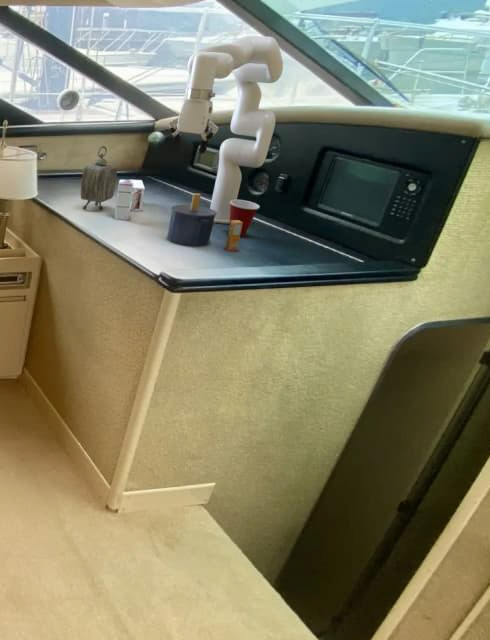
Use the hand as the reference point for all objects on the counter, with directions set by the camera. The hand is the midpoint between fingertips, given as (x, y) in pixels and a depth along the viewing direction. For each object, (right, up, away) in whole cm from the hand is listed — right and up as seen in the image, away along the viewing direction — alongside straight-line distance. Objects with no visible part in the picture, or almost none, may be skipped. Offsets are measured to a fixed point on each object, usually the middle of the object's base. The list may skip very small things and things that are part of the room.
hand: (188, 151), depth 202 cm
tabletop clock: (-23, -5, +52) cm, 57 cm away
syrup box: (-15, -12, +40) cm, 44 cm away
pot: (+4, -27, +15) cm, 31 cm away
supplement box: (+17, -32, +7) cm, 37 cm away
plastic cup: (+27, -22, +26) cm, 43 cm away
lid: (+5, -18, +10) cm, 21 cm away
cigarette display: (-6, -2, +60) cm, 61 cm away
